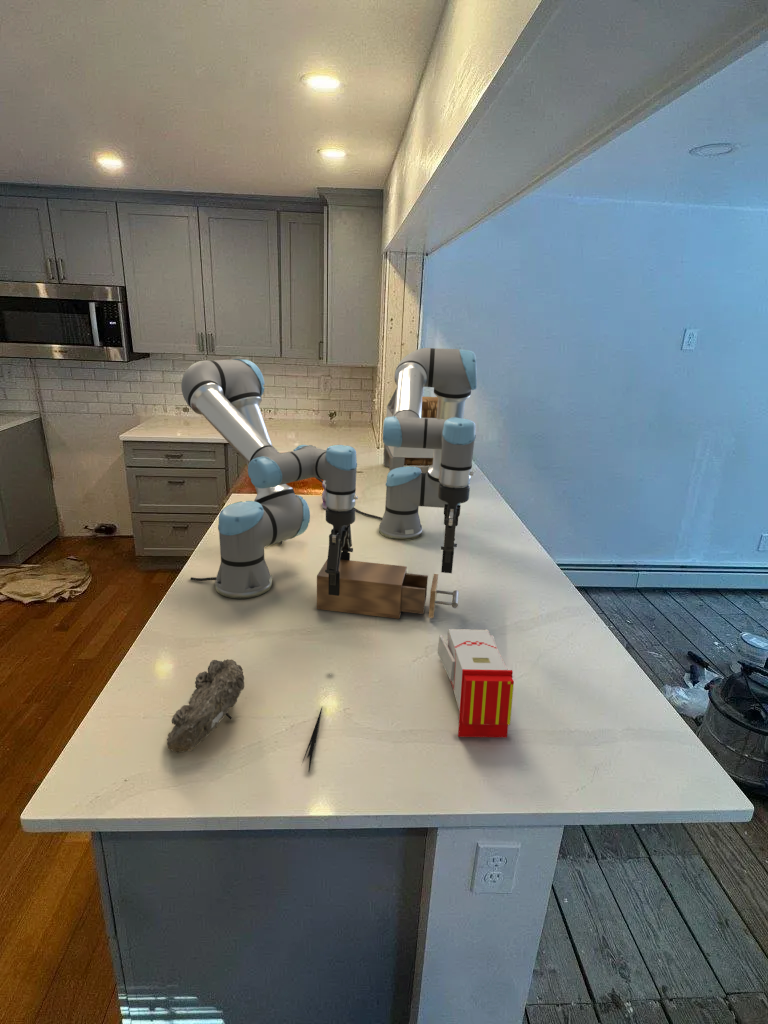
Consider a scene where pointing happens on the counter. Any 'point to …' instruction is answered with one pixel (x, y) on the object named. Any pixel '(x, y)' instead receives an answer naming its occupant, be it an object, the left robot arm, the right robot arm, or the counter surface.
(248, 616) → the counter surface
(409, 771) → the counter surface
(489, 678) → the toy
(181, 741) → the fossil
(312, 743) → the feather
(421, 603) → the drawer
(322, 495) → the figurine
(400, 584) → the cabinet
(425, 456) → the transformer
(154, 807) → the counter surface
